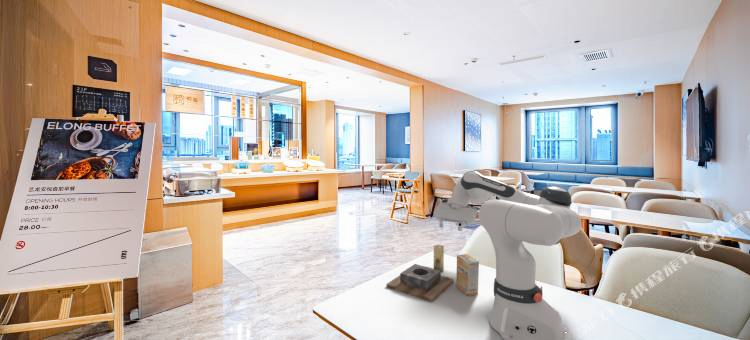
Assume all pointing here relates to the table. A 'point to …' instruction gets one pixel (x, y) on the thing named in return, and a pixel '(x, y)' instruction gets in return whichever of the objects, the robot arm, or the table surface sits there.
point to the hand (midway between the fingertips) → (449, 228)
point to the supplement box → (467, 274)
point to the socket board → (421, 292)
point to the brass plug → (439, 257)
